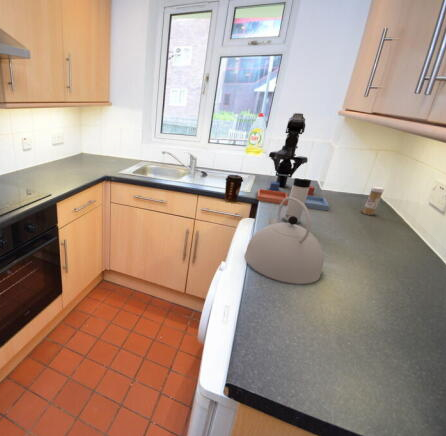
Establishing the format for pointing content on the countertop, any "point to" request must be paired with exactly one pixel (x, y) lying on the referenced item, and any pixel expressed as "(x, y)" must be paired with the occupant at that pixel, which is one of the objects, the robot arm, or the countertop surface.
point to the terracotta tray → (272, 196)
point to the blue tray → (316, 203)
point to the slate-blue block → (274, 186)
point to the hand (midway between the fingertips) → (283, 172)
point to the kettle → (286, 250)
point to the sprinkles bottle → (373, 200)
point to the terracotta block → (311, 190)
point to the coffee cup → (232, 187)
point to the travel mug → (299, 193)
